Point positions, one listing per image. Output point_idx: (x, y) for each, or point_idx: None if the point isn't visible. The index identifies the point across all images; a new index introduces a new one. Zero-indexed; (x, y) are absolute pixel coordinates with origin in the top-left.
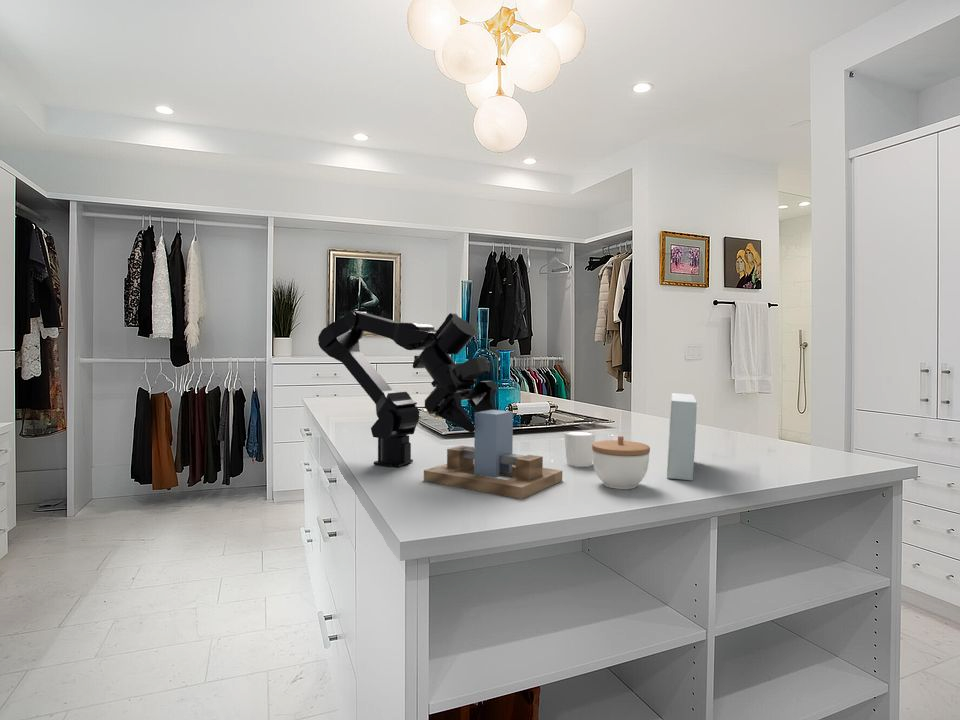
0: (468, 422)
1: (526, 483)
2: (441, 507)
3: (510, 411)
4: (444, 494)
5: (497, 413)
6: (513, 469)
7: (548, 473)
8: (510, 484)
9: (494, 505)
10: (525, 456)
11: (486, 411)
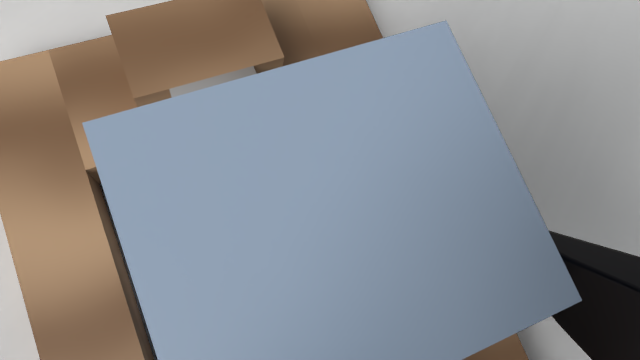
0: (609, 255)
1: (300, 4)
2: (613, 85)
3: (110, 142)
4: (552, 206)
5: (386, 83)
6: (125, 285)
7: (78, 69)
8: (365, 30)
9: (462, 6)
10: (191, 71)
11: (398, 319)
